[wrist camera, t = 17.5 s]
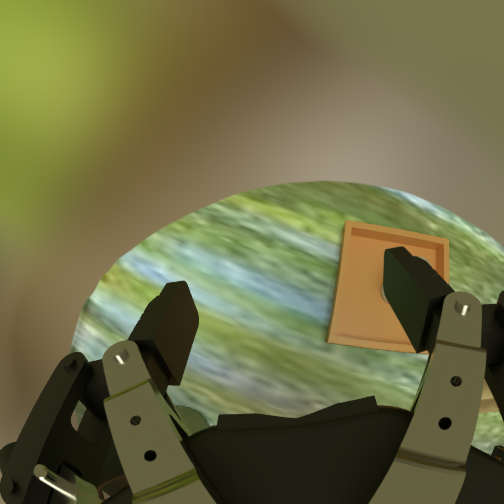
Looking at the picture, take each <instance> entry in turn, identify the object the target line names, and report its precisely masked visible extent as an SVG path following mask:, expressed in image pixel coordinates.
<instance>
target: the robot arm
mask: <svg viewBox="0 0 504 504" xmlns="http://www.w3.org/2000/svg"><path fill="white" fill-rule="evenodd" d="M383 290H384V295H385V297H386V299H387V301H388V303H389V304H390V306H391V308H392V309H393V311H394V313H395V315H396V316H397V318H398V320H399V322H400V324H401V325H402V327H403V329H404V331H405V333H406V335H407V336H408V338H409V340H410V342H411V344H412V346H413V348H414V350H415V352H416V354H417V353H421V352H424V351H428V353H429V357H428V360H427V363H426V366H425V370H424V373H423V376H422V379H421V382H420V385H419V388H418V390H417V393H416V396H415V399H414V401H413V403H412V406H411V408H410V410H409V411H408V410H406V409H402V408H399V407H393V406H383V405H379V406H377V403H376V400H375V396H370V397H365V398H361V399H357V400H352V401H347V402H342V403H337V404H334V405H332V406H330V407H327V408H324V409H322V410H319V411H317V412H314V413H311V414H308V415H306V416H303V417H299V418H287V417H278V416H271V415H263V414H257V413H254V414H219V416H218V422H217V425H215V426H211V427H209V425H208V423H207V421H206V420H205V418H204V417H203V416H202V415H201V414H199V413H198V412H197V411H195V410H193V409H191V408H188V407H183V406H177V407H175V405H174V403H173V402H172V400H171V398H170V396H169V394H168V393H167V392H166V390H167V387H168V385H172V386H180V383H181V380H182V376H183V373H184V370H185V367H186V363H187V360H188V357H189V354H190V351H191V347H192V344H193V341H194V338H195V335H196V332H197V329H198V325H199V316H198V311H197V309H196V306H195V303H194V301H193V298H192V295H191V293H190V290H189V287H188V285H187V283H186V282H185V281H177V282H170V283H166V285H165V286H164V288H163V290H162V291H161V293H160V295H159V296H157V297H155V298H154V299H153V300H152V301H151V302H150V303H149V304H148V306H147V307H146V309H145V311H144V313H143V314H142V316H141V317H140V320H139V321H138V322H137V324H136V326H135V328H134V329H133V331H132V333H131V335H130V336H129V338H128V340H125V341H121V342H118V343H116V344H114V345H112V346H111V347H110V348H108V350H107V351H106V352H105V353H104V355H103V359H100V360H96V361H92V362H88V360H87V359H86V357H85V356H84V355H83V354H82V353H80V352H74V353H71V354H69V355H67V356H66V357H64V358H63V359H62V360H61V361H60V363H59V364H58V366H57V367H56V369H55V371H54V372H53V374H52V376H51V377H50V379H49V381H48V382H47V384H46V386H45V388H44V389H43V391H42V393H41V395H40V396H39V398H38V400H37V402H36V404H35V405H34V407H33V409H32V411H31V413H30V415H29V417H28V419H27V421H26V423H25V425H24V427H23V429H22V431H21V433H20V435H19V437H18V439H17V441H16V442H13V443H10V444H7V445H6V446H4V447H3V448H2V449H1V450H0V470H1V473H2V478H1V482H0V493H1V496H2V498H3V500H4V502H5V503H6V504H504V462H503V461H501V460H499V459H497V458H495V457H493V456H491V455H489V454H487V453H485V452H483V451H481V450H479V449H477V448H476V447H474V446H472V445H471V443H472V439H473V435H474V431H475V427H476V423H477V418H478V413H479V408H480V403H481V397H482V391H483V384H484V379H485V381H486V383H487V385H488V387H489V389H490V391H491V393H492V395H493V398H494V400H495V402H496V404H497V407H498V409H499V411H500V414H501V416H502V419H503V421H504V291H502V292H501V293H500V295H499V298H498V301H497V304H483V305H481V303H480V301H479V300H478V299H477V298H476V297H475V296H473V295H472V294H469V293H466V292H455V291H454V290H453V289H452V288H451V287H450V285H449V284H448V283H447V282H446V281H445V280H444V279H443V278H442V277H441V276H440V275H438V273H437V272H436V271H435V269H433V267H432V266H431V265H430V264H429V263H428V262H427V261H425V260H423V259H421V258H419V257H417V256H413V255H412V254H411V253H410V252H409V251H408V250H407V249H406V248H405V247H404V246H400V247H394V248H389V249H386V250H385V252H384V269H383ZM78 400H80V402H81V403H82V404H83V405H84V406H85V407H86V408H87V409H86V411H85V413H84V416H83V418H82V420H81V423H80V425H79V428H78V430H77V431H76V430H75V429H74V428H73V427H72V424H71V416H72V413H73V411H74V409H75V407H76V405H77V402H78ZM102 490H103V491H104V492H105V493H107V494H108V495H110V496H111V497H109V498H108V499H106V500H105V499H104V496H103V492H102Z"/></svg>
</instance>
